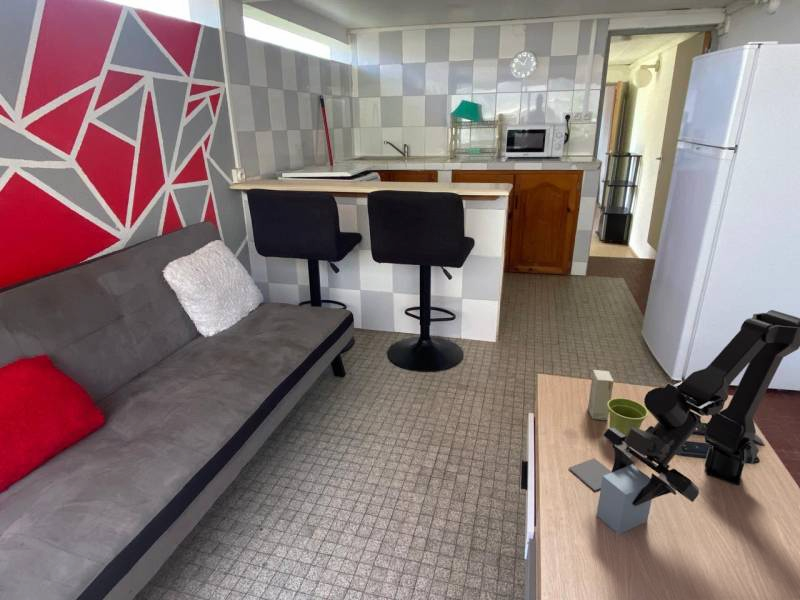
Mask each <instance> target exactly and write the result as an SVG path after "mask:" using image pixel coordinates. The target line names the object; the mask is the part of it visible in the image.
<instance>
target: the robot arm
mask: <svg viewBox="0 0 800 600" xmlns="http://www.w3.org/2000/svg"><path fill="white" fill-rule="evenodd" d="M799 349H800V317H797V316H794V315H791V314H788V313H784V312H781V311H777V310H774V309H770V310H768V311H767V312H761V313H754V314H752V317H750V318H746V319H745V320H744V321H743V322H742V323H741V325H740V330H739V331H738V332H737V333H736V334H735V336H734V337H733V338H732V339H731V340H730V341H729V342H728V343H727V344H726V345H725V347H724V348H723V349H722V350H721V351H720V352H719V353H718V354H717V356H715V358H714V359H713V360H712V361H711V362H710V364H709V365H708V366H706V367H705V368H703V369H698V370H696V371H692V373H691V374H690V375H689V376H687V377H686V378H685V379H684V380H682V381H680V382H678V383H675V384H672V383H670V382H669V383H667V384H666V386H665V387H664V386H661V387H660V386H659V387H655V388H653V389H651V390H649V391H648V392H647V393H646V395H645V396H644V399H643V400H644V401H643V403H644V407H645V408H646V409H647V410H648V413H650V414H651V416H653V418H654V419H655V420H656V421H657V423H656V424H655V426H652V425H650V426H648V428H647V429H645V430H644V429H640V428H639V429H636V428H631V429H630V431H629V433H628V435H627V436H625V435H624V434H622V433H621V432H619V431H618V430H617V429H615V428H614V427H612V428H610V427H609V428H607V429H606V430H605V431H604V432H603V434H602V437H604V438H605V439H606V440H607V441H608V442H609V443H610V444H611V449H613V451H614V460H613V465H612V469H611V471H612V472H614V471H617V470H619V469H622V468H624V467H627V466H629V465H633V464H634V463H635V462H634V461H633V460H632V459H631V458H632V457H634V458H636V459H637V460H639V461H640V462H641V463H643V464H644V465H646V466H647V467H648V468H650V469H651V470H652V471H654V472H655V473H657V474H658V476H657V475H656V474H654V473H652V474H651V477H650V478H651V479H650V482H649V483H648V484H647V486H646V487H645V488H644V489H643V490H642V491H641V492H640V493H639V495H638V496H637V497H636V498H635V500H634V501H633V503H632V504H633V505H634V506H638V505H640V504H642V503H644V502H647V501H649V500H651V499H652V500H654V499H655V498H658V497H661V496H665V495H668V494H673V495H674V496H676V495H677V494H678V493H679V494H680V495H682V496H684V497H685V498H686V499H687V500H689V501H690V502H692V503H694V501H695V500H696V499H697V498H698V496H699V493H700V490H699V487H698V486H697V485H696V484H695V482H693V481H692V480H691V479H690V478H689V477H687V476H685V474H683V473H681V472H680V471H678V470H677V469H675V468H671V466H670V465H669V463H670V462H671V461H672V459H673V458H674V457H675V456H676V454H679V455H681V454H682V452H683V449H682V447H683V446H684V444H685V443H686V442H687V441H688V439H689V438H690V436H692V435H693V433H694V432H695V431H696V430H697V429H698V430H701V429H702V428H703V427H702V426H703V423H702V421H701V419H702V417H703V416H705V417H707V416H708V417H709V416H710V419H709V421H708V422H707V423H706V425H705V427H704V443H705V444H708V445H710V446H709V447H708V450H707V454H706V457H705V462H704V468H706V470H705V474H706V475H707V476H710V477H713V478H717V479H719V480H722V481H726V482H728V483H731V484H733V485H737V486H740V485H741V480H742V479H741V477H742V474H743V470H744V467H745V463H746V464H752V463H754V460H755V459H756V457H757V456H758V453H759V452H760V450H759V448H758V447H757V445H756V444H755V442H754V441H753V440H754V439H755V436H756V433H757V432H756V431H757V430H756V427H755V423H754V417H755V414H756V413H757V411H758V408H759V406H760V404H761V402H762V400H763V399H764V396H765V394H766V393H767V390H768V388H769V387H770V385H771V383H772V380H773V378H774V376H775V374H776V372H777V370H778V368H779V366H780V365H781V363H782V360H784V358H785V357H787V356H789V355H790V354H792V353H794V352H796V351H797V350H799ZM744 369H745V371H744V373H743V375H742V377H741V379H740V381H739V383H738V385H737V387H736V389H735V391H734V394H733V395H732V397H731V400H730V402H729V403H728V405H727V407H726V408H724V406H725V404H726V402H727V400H728V399H729V386H730V385H731V384H732V383H733V382H734V380H735V379H736V378H737V377H738V376H739V375H740V373H741V372H742V371H743V370H744ZM701 416H702V417H701ZM669 468H671V469H669ZM612 472H611V473H612ZM677 492H678V493H677Z"/></svg>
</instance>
